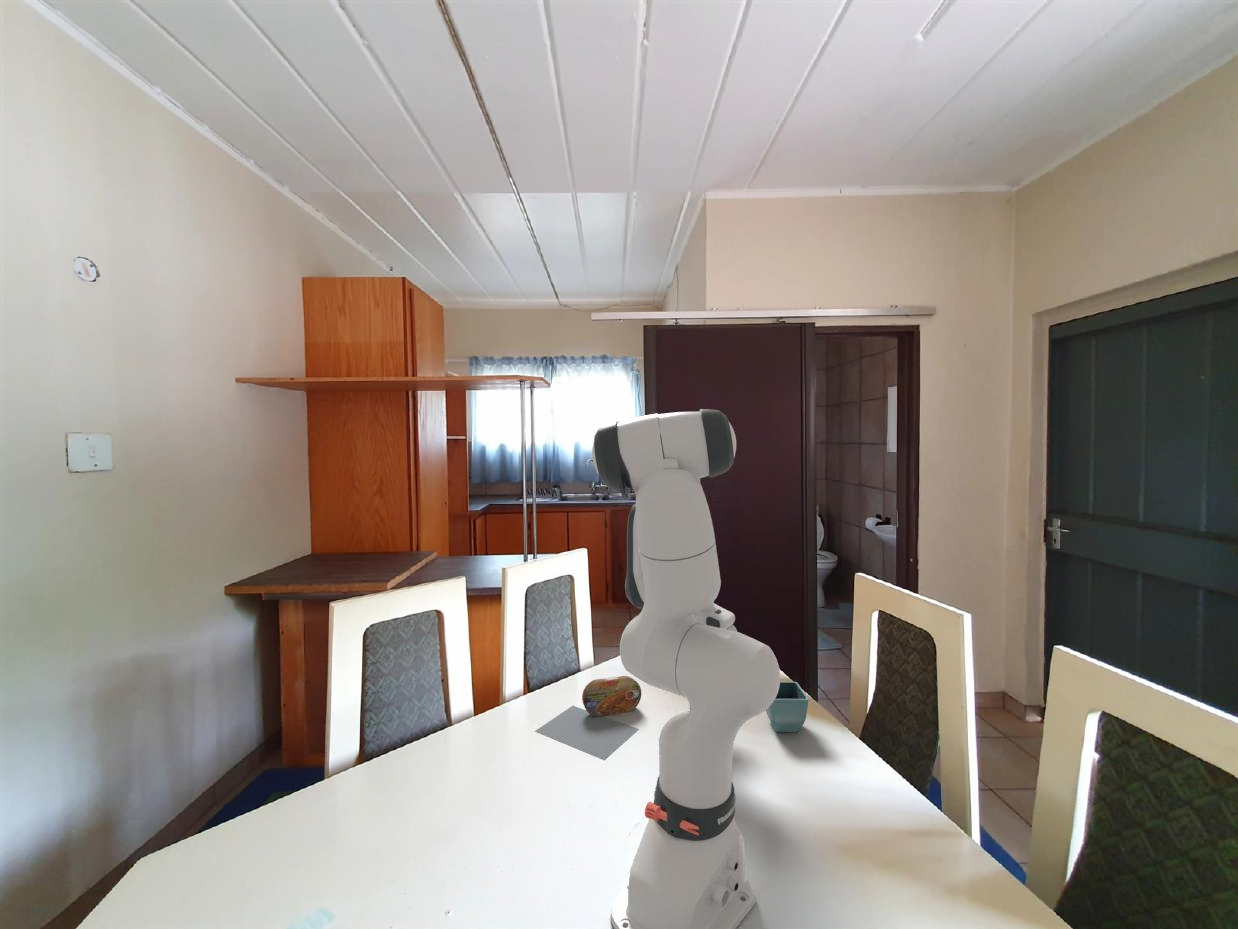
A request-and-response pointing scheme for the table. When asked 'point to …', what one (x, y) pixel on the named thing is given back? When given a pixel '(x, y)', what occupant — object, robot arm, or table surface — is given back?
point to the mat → (587, 732)
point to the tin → (611, 696)
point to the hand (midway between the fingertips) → (694, 672)
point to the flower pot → (788, 708)
